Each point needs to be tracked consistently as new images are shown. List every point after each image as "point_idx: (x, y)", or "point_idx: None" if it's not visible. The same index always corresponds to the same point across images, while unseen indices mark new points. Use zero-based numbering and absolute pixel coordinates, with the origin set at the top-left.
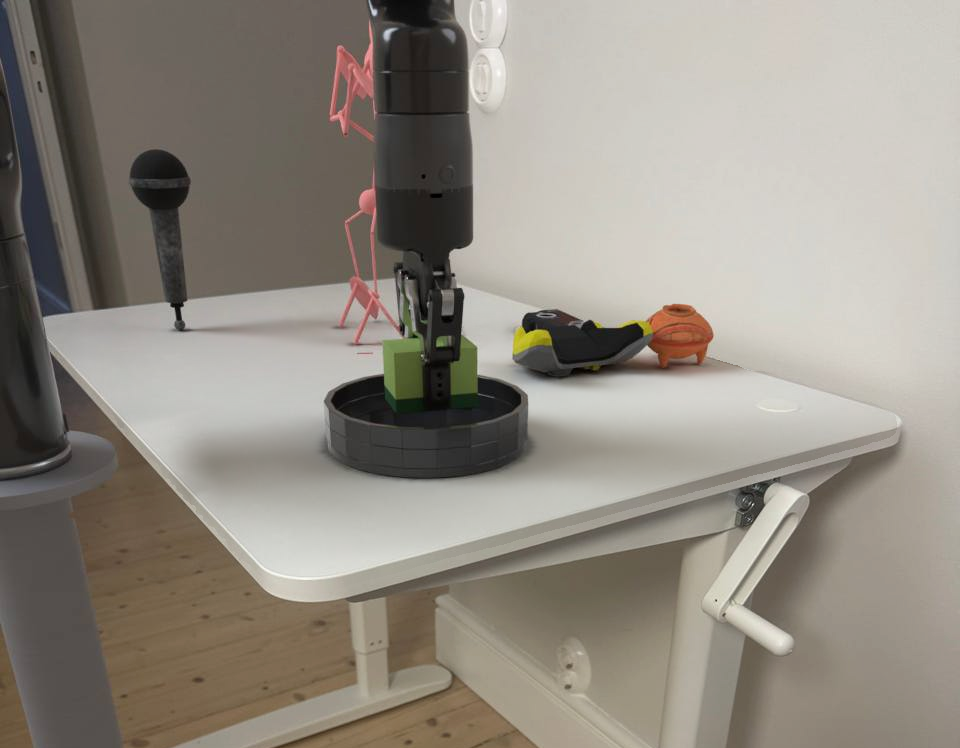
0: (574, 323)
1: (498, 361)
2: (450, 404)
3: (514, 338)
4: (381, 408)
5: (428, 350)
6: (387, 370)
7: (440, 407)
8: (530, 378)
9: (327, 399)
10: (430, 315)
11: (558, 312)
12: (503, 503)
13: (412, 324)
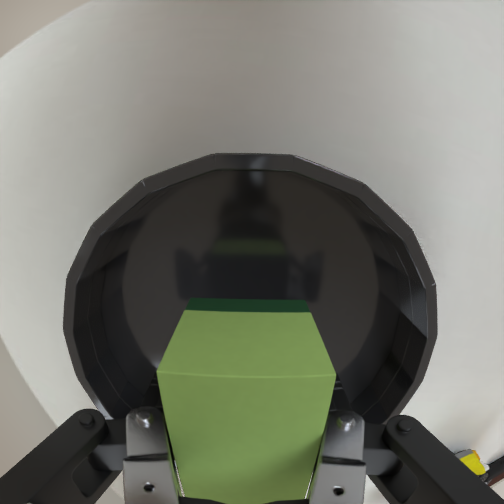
0: (489, 483)
1: (489, 429)
2: None
3: (479, 463)
4: (398, 291)
5: (78, 428)
6: (265, 335)
7: None
8: None
9: (301, 165)
10: (15, 482)
11: None
12: (34, 336)
13: (162, 474)
